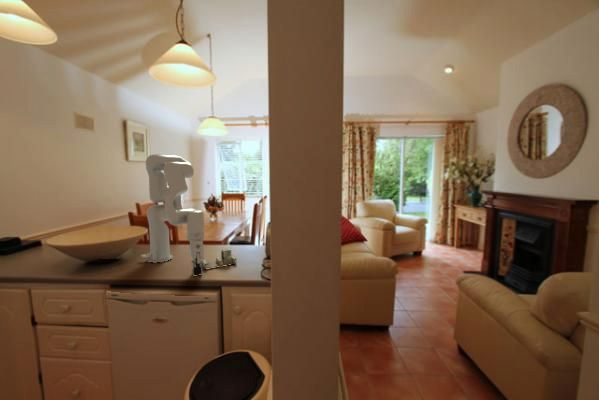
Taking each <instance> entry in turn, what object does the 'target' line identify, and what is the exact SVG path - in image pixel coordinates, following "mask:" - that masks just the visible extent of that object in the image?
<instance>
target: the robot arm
mask: <svg viewBox="0 0 599 400" xmlns="http://www.w3.org/2000/svg"><path fill="white" fill-rule="evenodd" d="M145 169H146V171H147V174H148V187H149V188H148V189H149V190H148V191H149V199H150V201H151V202H153V203H162V204H155V205H151V206H149V207H148V208H147V209H146V217H147V223H148V228H149V229H148V231H149V247H150V251H149V253H146V254H141V255H140V258H141V259H143V260H144V259H147V262H148V263H150V262H153V263H152V264H157V262H160V263H164V261H165V262H168V260H169V261H171V260H172V259H173V258H174V256H173V255H172V254H171V253H170V229H169V227H168V225H167V224H166V223H165V222H167V223H169V224H170V225H171V226H175V227H176V226H183V225H186V238H187V241H188V242H189V252H190V253H189V254H190V258H191V260H193V261H194V266H195V267H194V275H199V274H201V261H202V260H204V259H205V254H204V253H205V252H204V242H203V240H204V239H205V222H204V221H205V220H204V219H205V216H204V215H205V214H204V211H203V210H199V209H196V208H192V207H191V208H182V195H183V194H184V193H186V192H187V191H188V190H189V187H188V185H187V181H186V179H190V178H192V177H193V176H194V167H193V165H192V164H191V163H190V162H189V161H188V160H186V159H185V158H183V157H181V156H180V155H179V156H178V155H172V154H171V155H169V154H160V153H159V154H150V155H148V156H147V157H146V160H145ZM163 203H164V204H163ZM170 259H171V260H170ZM196 262H197V263H196Z"/></svg>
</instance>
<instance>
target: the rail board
mask: <svg viewBox="0 0 599 400" xmlns="http://www.w3.org/2000/svg"><path fill="white" fill-rule="evenodd" d="M220 253H221V255H220V256H221V257H220V256H216V257H215V261H210V262H208V261H207V260H206V259H205V258H204V260H202V259H201V261H202V263H203V267H204V268H205V269H206V268H211V267H217V266H223V265H229V264H236V263H237V262H238V261H237V257H235V256H234V254H232V249H231V248H229V247H227V248H221V252H220ZM204 268H203V269H204Z"/></svg>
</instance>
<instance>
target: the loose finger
mask: <svg viewBox="0 0 599 400" xmlns="http://www.w3.org/2000/svg"><path fill="white" fill-rule="evenodd" d="M196 263H197V262H196ZM194 267H195V266H194V261H193V260H192V259H191V275H192V274H193V275H194ZM203 271H204V268H203V263H202V260H201V274H202V275H203Z"/></svg>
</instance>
